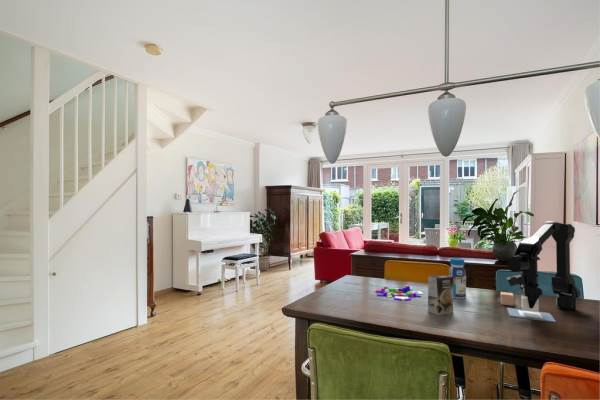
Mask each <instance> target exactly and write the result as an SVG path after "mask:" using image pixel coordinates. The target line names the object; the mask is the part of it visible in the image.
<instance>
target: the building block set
mask: <svg viewBox="0 0 600 400" xmlns="http://www.w3.org/2000/svg"><path fill="white" fill-rule="evenodd" d="M413 289H414V288H413V287H411V286H410V285H408V284H405V285H404V287H402V288H401V287H398V288H397V287H396V288H395V287H388V286H384V287H380V289H375V293H377V294H376V296H377V297H387V298H393V299H394V301H405V302H406V301H412V298H422V296H423V295H424V293H423V292H422V291H420V290H413ZM421 295H422V296H421Z"/></svg>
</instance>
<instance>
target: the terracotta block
mask: <svg viewBox="0 0 600 400" xmlns="http://www.w3.org/2000/svg"><path fill="white" fill-rule="evenodd" d="M514 297H515V296H514V293H512V292H505V291H500V304H501V305H503V306H511V307H513V306H514V305H515V303H514V299H515V298H514Z"/></svg>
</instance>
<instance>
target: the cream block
mask: <svg viewBox="0 0 600 400" xmlns="http://www.w3.org/2000/svg"><path fill="white" fill-rule="evenodd" d="M520 296H521V297H520V307H521V310H527V311H536V312H540V311H539V310H540V309H539V307H540V306H539V303H540V302H539V299H538V300H537V301H536V303H535V305H534V307H533V308H529V303H528V299H527V296H525V295H520Z"/></svg>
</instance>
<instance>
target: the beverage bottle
mask: <svg viewBox="0 0 600 400" xmlns="http://www.w3.org/2000/svg"><path fill="white" fill-rule="evenodd" d="M449 265H451V266H450V267H449V269H448V273H449V274H448V276H451V277H453V299H458V300H459V299H461V300H463V299H466V298H467V275H466V274H467V271H466V269H465V267H464V266H465V259H464V258H461V257H451V258H450V260H449Z"/></svg>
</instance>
